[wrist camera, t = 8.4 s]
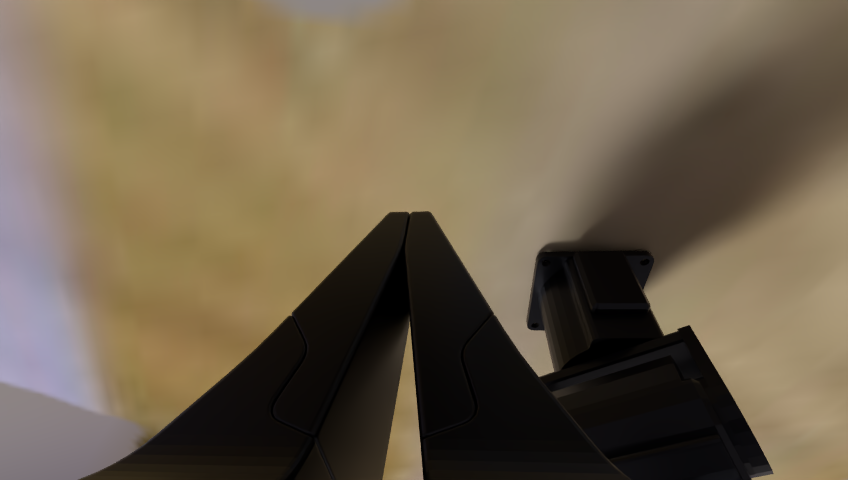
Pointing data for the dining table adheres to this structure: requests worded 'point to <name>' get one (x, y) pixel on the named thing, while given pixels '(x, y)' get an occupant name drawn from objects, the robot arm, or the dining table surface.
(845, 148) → the dining table surface
